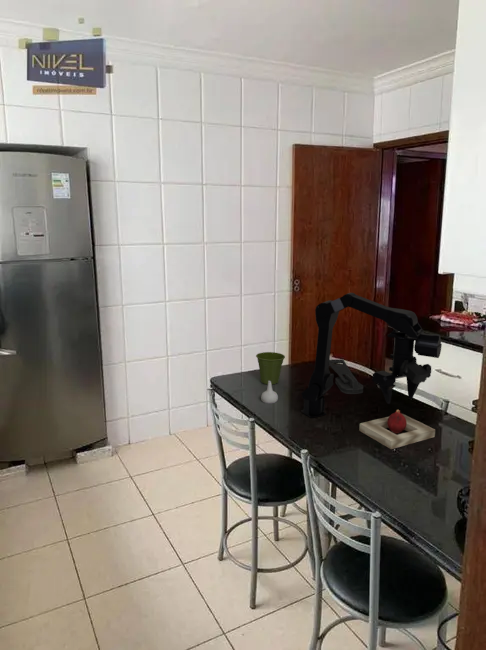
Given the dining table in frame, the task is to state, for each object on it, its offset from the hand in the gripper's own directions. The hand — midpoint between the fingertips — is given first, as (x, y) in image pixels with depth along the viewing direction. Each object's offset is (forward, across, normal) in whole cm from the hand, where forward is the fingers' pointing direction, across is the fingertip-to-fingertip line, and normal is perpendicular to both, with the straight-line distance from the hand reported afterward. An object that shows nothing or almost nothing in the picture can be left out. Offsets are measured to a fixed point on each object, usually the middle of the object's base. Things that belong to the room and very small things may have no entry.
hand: (399, 401), depth 149 cm
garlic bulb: (+11, -22, +42) cm, 49 cm away
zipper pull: (+11, +15, +45) cm, 49 cm away
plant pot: (+11, -11, +60) cm, 62 cm away
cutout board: (+11, 0, 0) cm, 11 cm away
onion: (+11, 0, 0) cm, 11 cm away
